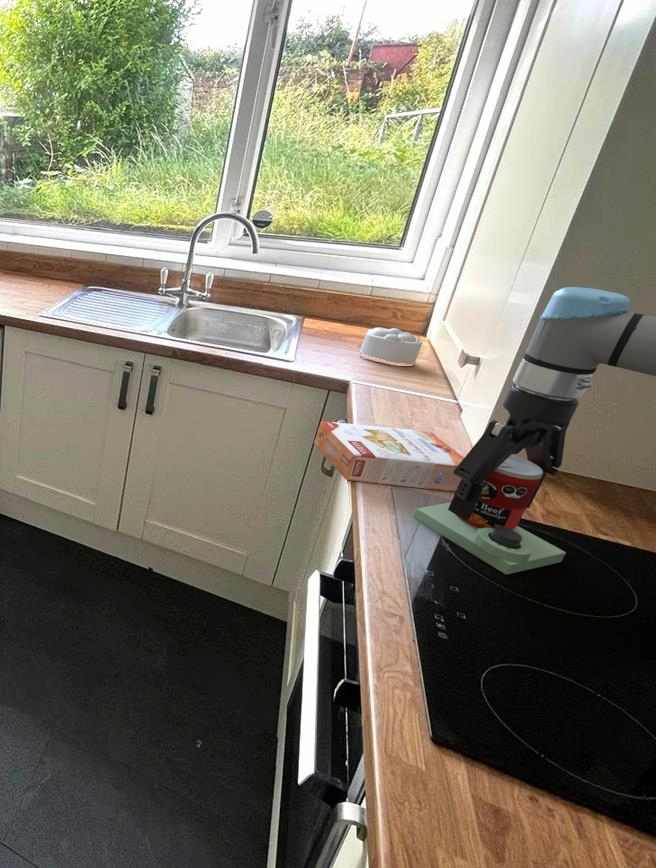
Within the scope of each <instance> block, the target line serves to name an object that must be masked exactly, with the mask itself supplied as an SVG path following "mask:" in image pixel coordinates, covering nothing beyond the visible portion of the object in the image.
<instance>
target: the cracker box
mask: <svg viewBox="0 0 656 868" xmlns="http://www.w3.org/2000/svg"><path fill="white" fill-rule="evenodd" d="M313 445H314V446H315V447H316V448H317V450H318V451H319V452H320V453H321V454H322V455H323V456H324V457H325V459H327V461H328V462H329V463H330V464H331V465H332V466H333V467H334V468H335V469H336V471H337V472H338V473H339V474H340V475H341V476H342V478H344V480H346V481H353V482H361V483H363V482H364V483H370V484H379V485H389V486H400V487H407V488H417V489H426V490H436V491H445V492H453V493H454V492H455V493H456V490H457V488H458V486H459V484H460V481H461V479H462V478H460V477H458V476H457V475H455V474H453V472H454V470H455V469H456V467H457V466H458V465H459V464H460V463H461V461H462V460H463V459H464V458H465V456H463V455H461V454H460V453H459V452H457V451H456V450H455V449H453V448H452V447H451V446H450V445H449V444H447V443H446V442H444V441H443V440H442V439H441V438H439V437H438V436H436V435H435V434H434V433H433V432H432V431H428V430H427V431H426V430H415V429H406V428H398V427H397V428H396V427H386V426H377V425H376V426H374V425H364V424H355V423H345V422H335V421H327V420H321V421H320V423H319V425H318V429H317V433H316V435H315V439H314V441H313Z"/></svg>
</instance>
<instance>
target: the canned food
mask: <svg viewBox="0 0 656 868" xmlns="http://www.w3.org/2000/svg"><path fill="white" fill-rule="evenodd" d="M542 475H543V470H542V469H541V468H540V467H539V466H537V465H536V464H534V463H532V462H530V461H528V459H527V458H523V457H521V456H518V455H516V454H512V455H510V456H509V457H508V458H507V459H506V460H505V461H504V462H503V463H502V464H501V465H500V466H499V467H498V468H497V469H496V470H495V471H494V472H492V473H491V474H490V475H489V476H488V477H487V478H486V479H485V480H484V481H483V482H482V483H483V484H485V487H484V489H483V491H482V493H481V495H480V497H479V499H478V501H477V504H476V506H475V508H474V510H473V512H472V514H471V516H470V519H468V520H465V519H463V518H461V517H460V516H458V515H457V516H458V517H459V518H461V519H462V520H463V521H465V522H467V523H468V524H470V525H472V526H475V527H477V528H480V529H481V528H493V529H494V528H495V527H504V528H508V529H510V530H513V529H515V528H516V527H517V526H518V525H519V522H520V521H521V519H522V517H523V516H524V513H525V511H526V510H527V508H526V507H527V505H528V503H529V502H530V500H531V498H532V496H533V494H534V492H535V490H536V488H537V486H538V484H539V482H540V480H541V478H542Z"/></svg>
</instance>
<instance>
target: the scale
mask: <svg viewBox="0 0 656 868" xmlns="http://www.w3.org/2000/svg"><path fill="white" fill-rule="evenodd" d="M451 502H452V501H450V502H445V503H439V504H433V505H429V506H423V507H422V506H421V507H417V508H416V509H415V510H414V513H413V516H412V518H413V519H415V520H417V521H418V522H420V523H422V524H423V525H424V526H426V527H428V529H431V530H433V531H435V532H436V533H438V534H439V535H441V536H442V537H444V538H446V539H448V540H449V541H451V542H452V543H454V544H456V545H457V546H459V547H460V548H462V549H464V550H465V551H467V552H469V553H470V554H472V555H473V556H475V557H477V559H480V560H481V561H483V562H484V563H486V564H488V565H490V566H491V567H493V568H494V569H496V570H497V571H499V572H501V573H503V574H504V575H511V574H514V573H519V572H524V571H528V570H533V569H536V568H540V567H545V566H550V565H554V564H558V563H562V561H563V560H564V558H565V556H566V554H567V552H566V551H564V550H562V549H561V548H559V547H557V546H556V545H553V544H551V543H549V542H548V541H546V540H544V539H543V538H540V537H539V536H537V535H535V534H533V533H532V532H529V531H528V530H525V529H524V528H523V527H521V526H518V525H517V527H516V528H515V529H513V531H515V532H517V533H518V534H520V535H521V536H522V541H521V543H520V545H519V546H518V548H517V549H512V548H507V547H504V546H501V545H499V544H497V543H495V542H494V541H492V540H491V539H490V536H491V534H492V532H493V530H494V529H493V528H481V529H480V528H477V527H475V526H472V525H470V524H468V523H467V522H465V521H463V520H462V519H461V518H459V517H458V516H457V515H456V514H454V513H453V512H451V511H449V510H448V508H449V506H450V504H451Z"/></svg>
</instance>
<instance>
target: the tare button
mask: <svg viewBox="0 0 656 868" xmlns="http://www.w3.org/2000/svg"><path fill="white" fill-rule="evenodd" d="M490 539H491V540H492V541H494V542H495V543H497V544H499V545H501V546H504V547H507V548H512V549H517V548H518V546H519V545H520V543H521V541H522V536H521V535H520V534H518V533H517V532H515V531H513V530H510V529H508V528H504V527H495V528H494V530H493V532H492V534H491V536H490Z"/></svg>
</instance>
